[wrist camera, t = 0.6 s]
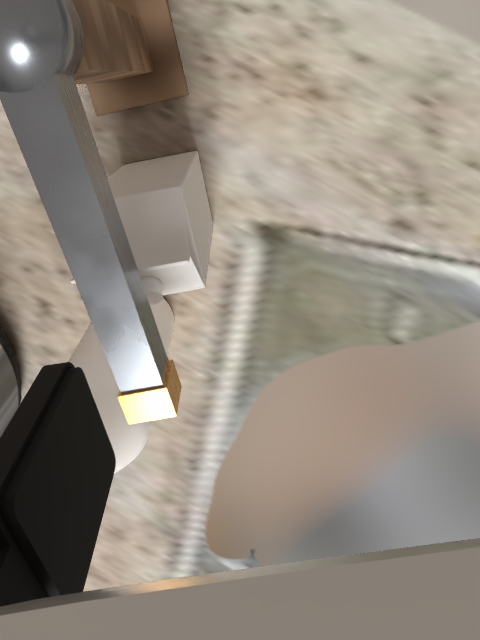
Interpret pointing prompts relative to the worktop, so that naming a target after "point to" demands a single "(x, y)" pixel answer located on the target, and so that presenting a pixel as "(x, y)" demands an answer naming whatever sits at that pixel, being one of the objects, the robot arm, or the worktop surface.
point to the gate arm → (81, 198)
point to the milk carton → (165, 222)
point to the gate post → (128, 54)
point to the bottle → (105, 388)
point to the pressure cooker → (8, 383)
